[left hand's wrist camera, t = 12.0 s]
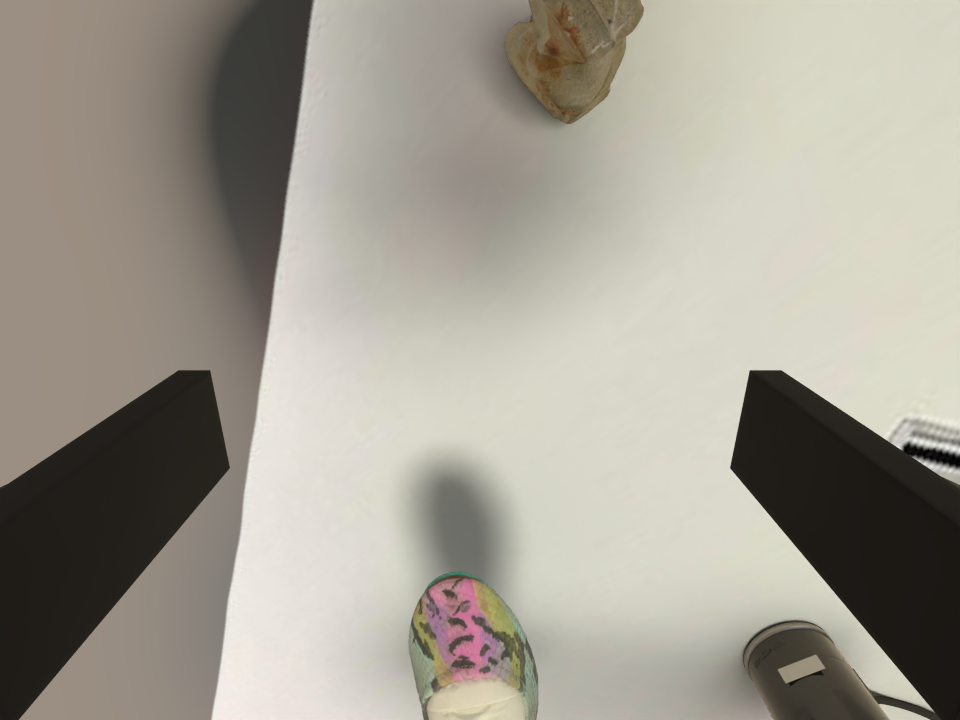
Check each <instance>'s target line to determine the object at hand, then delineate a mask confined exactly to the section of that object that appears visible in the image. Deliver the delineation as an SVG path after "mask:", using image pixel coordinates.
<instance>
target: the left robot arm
mask: <svg viewBox="0 0 960 720" xmlns="http://www.w3.org/2000/svg"><path fill="white" fill-rule="evenodd" d="M229 468H230V467H229V462H228V457H227V452H226V447H225V442H224V437H223V432H222V427H221V422H220V417H219V412H218V407H217V402H216V397H215V392H214V387H213V382H212V377H211V372H210V370H179V371H177V372H176V373H174V374H173V375H171V376H170V377H168V378H167V379H165V380H164V381H162V382H161V383H159V384H158V385H156V386H155V387H153V388H152V389H150V390H148V391H147V392H146V393H144V394H142V395H141V396H139V397H138V398H137V399H135V400H133V401H132V402H130V403H129V404H127V405H126V406H124V407H123V408H121V409H120V410H118V411H117V412H115V413H114V414H113V415H111V416H109V417H108V418H106V419H105V420H104V421H102V422H100V423H99V424H97V425H96V426H94V427H93V428H91V429H90V430H88V431H87V432H85V433H84V434H82V435H81V436H79V437H78V438H76V439H75V440H73V441H72V442H70V443H69V444H67V445H66V446H64V447H63V448H61V449H60V450H58V451H57V452H55V453H54V454H52V455H51V456H49V457H48V458H46V459H45V460H43V461H42V462H40V463H39V464H37V465H36V466H34V467H33V468H31V469H30V470H28V471H27V472H25V473H24V474H22V475H21V476H19V477H18V478H16V479H15V480H13V481H12V482H10V483H9V484H7V485H5V486H2V487H0V720H19V719H20V717H21V716H22V715H23V714H24V713H25V712H26V710H27V709H28V708H29V707H30V706H31V704H32V703H33V702H34V701H35V700H36V698H37V697H38V696H39V695H40V694H41V692H42V691H43V690H44V689H45V688H46V687H47V685H48V684H49V683H50V682H51V681H52V679H53V678H54V677H55V676H56V674H57V673H58V672H59V671H60V670H61V669H62V667H63V666H64V665H65V664H66V663H67V662H68V660H69V659H70V658H71V657H72V656H73V654H74V653H75V652H76V651H77V650H78V648H79V647H80V646H81V645H82V644H83V642H84V641H85V640H86V639H87V638H88V636H89V635H90V634H91V633H92V632H93V631H94V629H95V628H96V627H97V626H98V625H99V623H100V622H101V621H102V620H103V619H104V617H105V616H106V615H107V614H108V613H109V611H110V610H111V609H112V608H113V607H114V605H115V604H116V603H117V602H118V601H119V600H120V598H121V597H122V596H123V595H124V594H125V592H126V591H127V590H128V589H129V588H130V586H131V585H132V584H133V583H134V582H135V580H136V579H137V578H138V577H139V576H140V574H141V573H142V572H143V571H144V570H145V568H146V567H147V566H148V565H149V564H150V563H151V561H152V560H153V559H154V558H155V557H156V555H157V554H158V553H159V552H160V551H161V549H162V548H163V547H164V546H165V545H166V543H167V542H168V541H169V540H170V539H171V538H172V536H173V535H174V534H175V533H176V532H177V530H178V529H179V528H180V527H181V526H182V524H183V523H184V522H185V521H186V520H187V519H188V517H189V516H190V515H191V514H192V513H193V511H194V510H195V509H196V508H197V506H198V505H199V504H200V503H201V502H202V501H203V499H204V498H205V497H206V496H207V495H208V493H209V492H210V491H211V490H212V489H213V488H214V486H215V485H216V484H217V483H218V481H219V480H220V479H221V478H222V477H223V476H224V474H225V473H226V472H227V471H228V470H229ZM730 468H731V470H732V471H733V472H734V473H735V474H736V476H737V477H738V478H739V479H740V480H741V482H742V483H743V484H744V485H745V486H746V488H747V489H748V490H749V491H750V492H751V493H752V495H753V496H754V497H755V498H756V499H757V501H758V502H759V503H760V504H761V505H762V507H763V508H764V509H765V510H766V511H767V513H768V514H769V515H770V516H771V517H772V519H773V520H774V521H775V522H776V523H777V524H778V526H779V527H780V528H781V529H782V530H783V532H784V533H785V534H786V535H787V536H788V538H789V539H790V540H791V541H792V542H793V544H794V545H795V546H796V547H797V548H798V550H799V551H800V552H801V553H802V554H803V555H804V557H805V558H806V559H807V560H808V561H809V563H810V564H811V565H812V566H813V567H814V569H815V570H816V571H817V572H818V573H819V575H820V576H821V577H822V578H823V579H824V580H825V582H826V583H827V584H828V585H829V586H830V588H831V589H832V590H833V591H834V592H835V594H836V595H837V596H838V597H839V598H840V600H841V601H842V602H843V603H844V604H845V606H846V607H847V608H848V609H849V610H850V611H851V613H852V614H853V615H854V616H855V617H856V619H857V620H858V621H859V622H860V623H861V625H862V626H863V627H864V628H865V629H866V631H867V632H868V633H869V634H870V635H871V636H872V638H873V639H874V640H875V641H876V642H877V644H878V645H879V646H880V647H881V648H882V650H883V651H884V652H885V653H886V654H887V656H888V657H889V658H890V659H891V660H892V662H893V663H894V664H895V665H896V666H897V667H898V669H899V670H900V671H901V672H902V673H903V675H904V676H905V677H906V678H907V679H908V681H909V682H910V683H911V684H912V685H913V687H914V688H915V689H916V690H917V691H918V693H919V694H920V695H921V696H922V697H923V698H924V700H925V701H926V702H927V703H928V704H929V706H930V707H931V708H932V709H933V710H934V712H935V713H936V714H937V715H938V716H939V718H940V719H941V720H960V485H958V484H956V483H954V482H952V481H949V480H947V479H945V478H943V477H941V476H939V475H938V474H936V473H935V472H933V471H932V470H930V469H929V468H927V467H926V466H924V465H923V464H921V463H920V462H918V461H917V460H915V459H914V458H912V457H911V456H909V455H908V454H906V453H905V452H903V451H902V450H900V449H899V448H897V447H896V446H894V445H893V444H891V443H890V442H888V441H887V440H885V439H884V438H882V437H881V436H879V435H878V434H876V433H875V432H873V431H872V430H870V429H869V428H867V427H866V426H864V425H863V424H861V423H860V422H858V421H857V420H855V419H854V418H852V417H851V416H849V415H848V414H846V413H845V412H843V411H842V410H840V409H839V408H837V407H836V406H834V405H833V404H831V403H830V402H828V401H827V400H825V399H824V398H822V397H821V396H819V395H818V394H816V393H815V392H813V391H812V390H810V389H809V388H807V387H806V386H804V385H802V384H801V383H799V382H798V381H796V380H795V379H793V378H792V377H790V376H789V375H787V374H786V373H784V372H783V371H781V370H750V372H749V377H748V382H747V387H746V392H745V397H744V402H743V407H742V412H741V417H740V422H739V427H738V432H737V437H736V442H735V447H734V452H733V457H732V462H731V467H730Z"/></svg>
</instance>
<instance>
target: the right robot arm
mask: <svg viewBox="0 0 960 720" xmlns="http://www.w3.org/2000/svg"><path fill="white" fill-rule="evenodd" d="M744 666H745V669H746V671H747V673H748V674H749V676H750V678H751V679H752V680H753V682H754V684H755V686H756V687H757V689H758V691H759V693H760V695H761V697H762V699H763V700H764V703H765V705H766V706H767V708H768V710H769V712H770V714H771V716H772V718H773V720H889V718H888V717H887V716H886V714H885V713H884V711H883V710H882V709H881V707H880V706H879V705H878V704H885V705H890V706H895V707H898V708H902V709H905V710H908V711H911V712H914V713H916V714H919V715H921V716H924V717H926V718H928V719H930V720H941V719H940V718H939V716H937V715H935V714H933V713H931V712H929V711H927V710H924V709H922V708H920V707H917V706H914V705H912V704H909V703H906V702H902V701H899V700H895V699H891V698H886V697H881V696H873V694H872V693H871V692H870V690H869V689H868V688H867V686H866V685H865V684H864V682H863V681H862V680H861V678H860V677H859V676H858V674H857V673H856V672H855V670H854V669H852V668H851V667H850V665H849V664H848V663H847V661H846V660H845V659H844V657H843V656H842V655H841V653H840V652H839V651H838V649H837V648H836V647H835V645H834V643H833V641H832V640H831V638H830V637H829V636H828V634H827V633H826V632H825V631H824V630H823V629H821V628H820V627H818V626H816V625H813V624H809V623H804V622H790V623H784V624H780V625H776V626H774V627H771V628H769V629H767V630H765V631H763V632H762V633H760V634H759V635H758V636H757V637H755V638H754V639H753V640H752V642H751V643H750V644H749V645H748V647H747V649H746V651H745V654H744Z"/></svg>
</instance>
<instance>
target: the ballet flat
mask: <svg viewBox="0 0 960 720" xmlns="http://www.w3.org/2000/svg"><path fill="white" fill-rule="evenodd" d="M409 653H410V657H411V662H412V667H413V671H414V676H415V681H416V687H417V691H418V694H419V699H420V702H421V705H422V712H423V717H424V720H536V718H537V712H538V675H537V669H536V665H535V661H534V657H533V654H532V651H531V648H530V646H529V643H528V641H527V638H526V636H525V633H524V631H523V629H522V627H521V625H520V623H519V621H518V620H517V618H516V617H515V615H514V614H513V612H512V611H511V609H510V608H509V607H508V606H507V605H506V603H505V602H504V601H503V600H502V598H501V597H500V596H499V595H498V594H497V593H496V592H495V591H494V590H493V589H491V588H490V587H489V586H488V585H487V584H485V583H484V582H483V581H482V580H480V579H479V578H477V577H475V576H473V575H471V574H468V573H463V572H451V573H448V574H444V575H442V576H440V577H438V578H436V579H435V580H434V581H432V582H431V583H430V584H429V586H428V587H427V589H426V590H425V592H424V594H423V595H422V597H421V598H420V600H419V602H418V604H417V606H416V609H415V612H414V614H413V618H412V621H411V626H410V633H409Z"/></svg>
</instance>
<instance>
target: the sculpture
mask: <svg viewBox="0 0 960 720" xmlns="http://www.w3.org/2000/svg"><path fill="white" fill-rule="evenodd" d="M529 4H530V8H531V12H532V16H531V22H529V23H517V24H516V25H515V26H514V27H513V28H512V29H511V30H509V32H508V33H507V36H506V39H505V52H506V55H507V58H508V60H509V62H510V64H511V66H512V67H513V69H514V70H515V72H516V73H517V75H518V76H519V78H520V79H521V80H522V82H523V83H524V84H525V85H526V86H527V88H528V89H529V90H530V91H531V92H532V93H533V94H534V95H535V97H536V98H537V99H538V100H539V101H540V102H541V103H542V104H543V105H544V107H545V108H546V109H547V110H548V111H549V112H550V113H551V114H552V115H553V116H554V117H555V118H557V119H560V120H561V121H563V122H564V123H567V124H571V123H573V122H575V121H576V120H578V119H579V118H581V117H582V116H584V115H585V114H586V113H588V112H589V111H590V110H592V109H593V108H594V107H595V106H596V105H598V104H599V103H600V102H601V101H603V100H604V99H605V98H606V97H607V95H608V93H609V92H610V84H611V82H612V80H613V78H614V76H615V74H616V72H617V70H618V67H619V65H620V63H621V61H622V59H623V56H624V53H625V48H626V36H628V35H629V34H630V33H631V32H632V31H633V30H634V29H635V28H636V26H637V25H638V23H639V21H640V19H641V17H642V15H643V11H644V7H643V6H642V4H641V1H640V0H529Z"/></svg>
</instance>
